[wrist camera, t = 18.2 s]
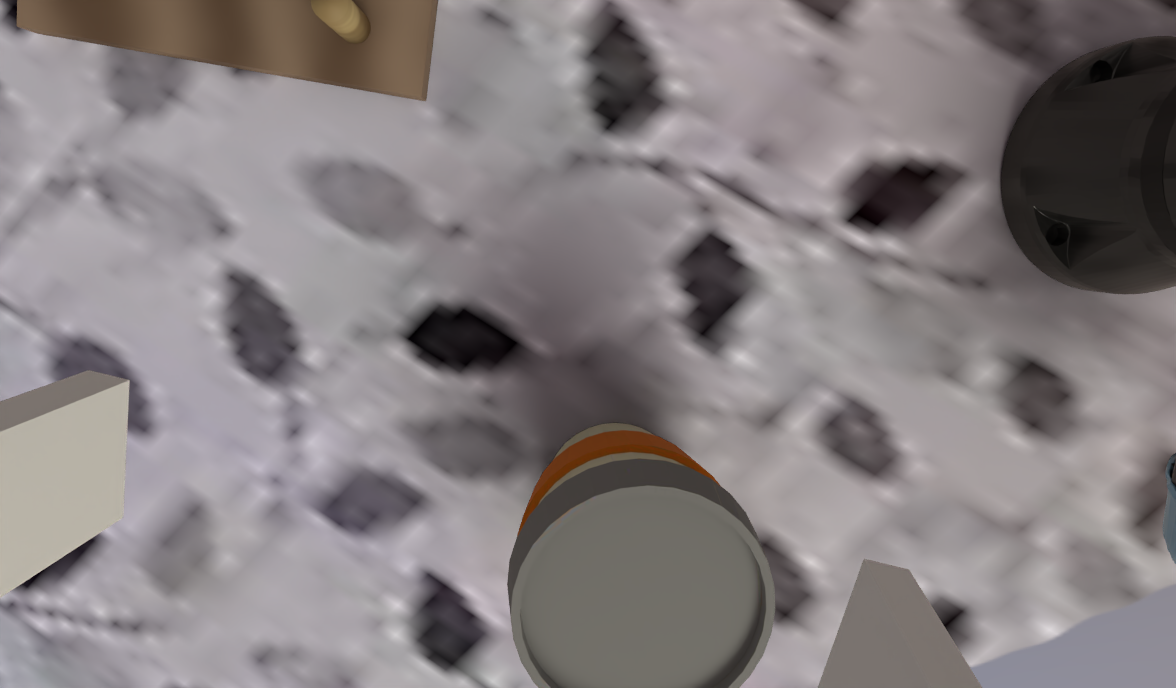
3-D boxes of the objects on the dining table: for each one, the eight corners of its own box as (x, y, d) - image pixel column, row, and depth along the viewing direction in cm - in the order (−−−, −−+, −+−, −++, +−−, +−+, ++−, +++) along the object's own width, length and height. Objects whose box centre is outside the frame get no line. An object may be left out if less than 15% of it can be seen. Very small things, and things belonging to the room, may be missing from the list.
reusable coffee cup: (518, 578, 47) (505, 741, 32) (517, 396, 45) (502, 480, 30) (704, 574, 48) (774, 732, 33) (711, 395, 46) (789, 477, 31)
